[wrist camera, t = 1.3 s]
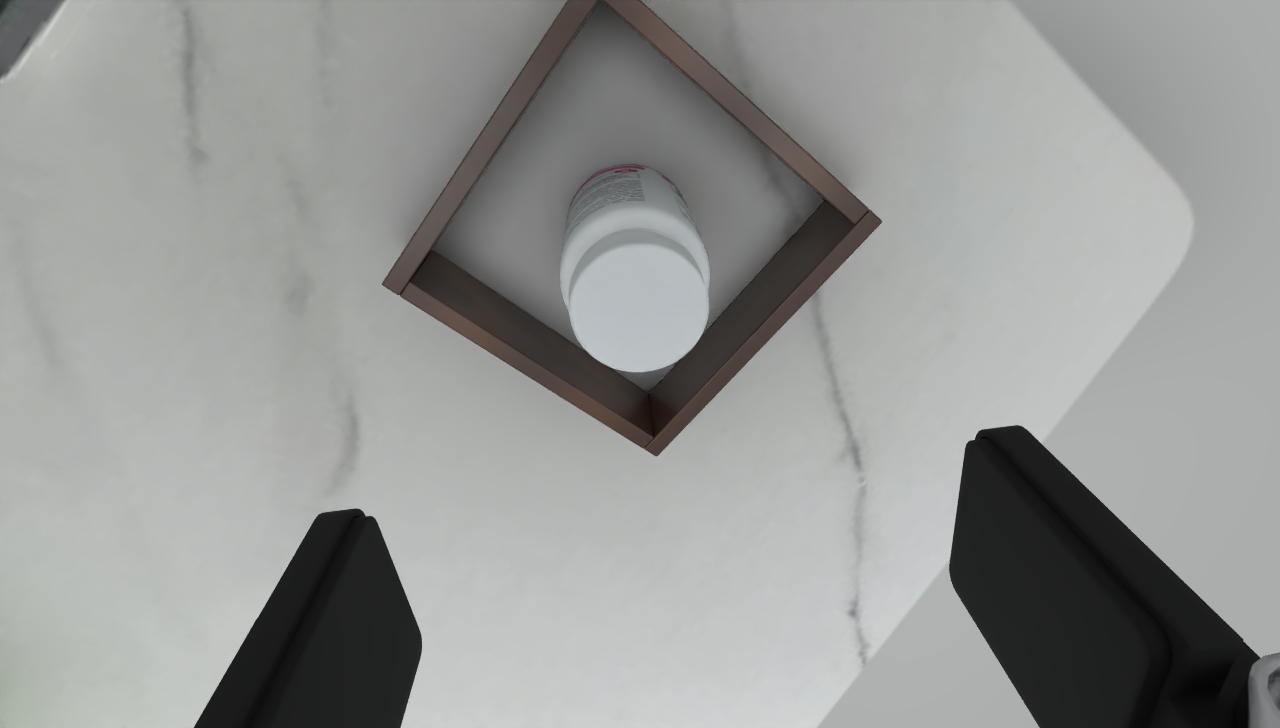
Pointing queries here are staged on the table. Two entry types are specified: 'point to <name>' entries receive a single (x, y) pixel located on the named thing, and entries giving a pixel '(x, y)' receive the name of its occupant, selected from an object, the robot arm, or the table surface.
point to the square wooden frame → (731, 334)
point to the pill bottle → (634, 270)
